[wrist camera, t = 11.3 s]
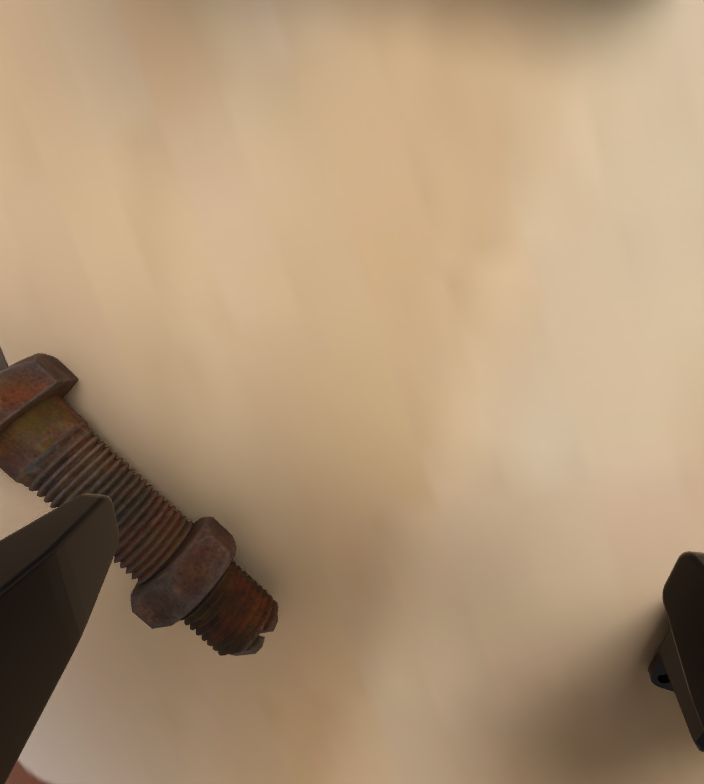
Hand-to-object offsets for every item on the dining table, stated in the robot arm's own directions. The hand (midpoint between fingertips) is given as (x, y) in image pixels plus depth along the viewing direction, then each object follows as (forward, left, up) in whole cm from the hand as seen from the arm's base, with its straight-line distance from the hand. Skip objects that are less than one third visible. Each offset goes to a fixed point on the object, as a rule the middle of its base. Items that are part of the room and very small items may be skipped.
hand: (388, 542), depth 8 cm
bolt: (+10, +11, -12) cm, 19 cm away
